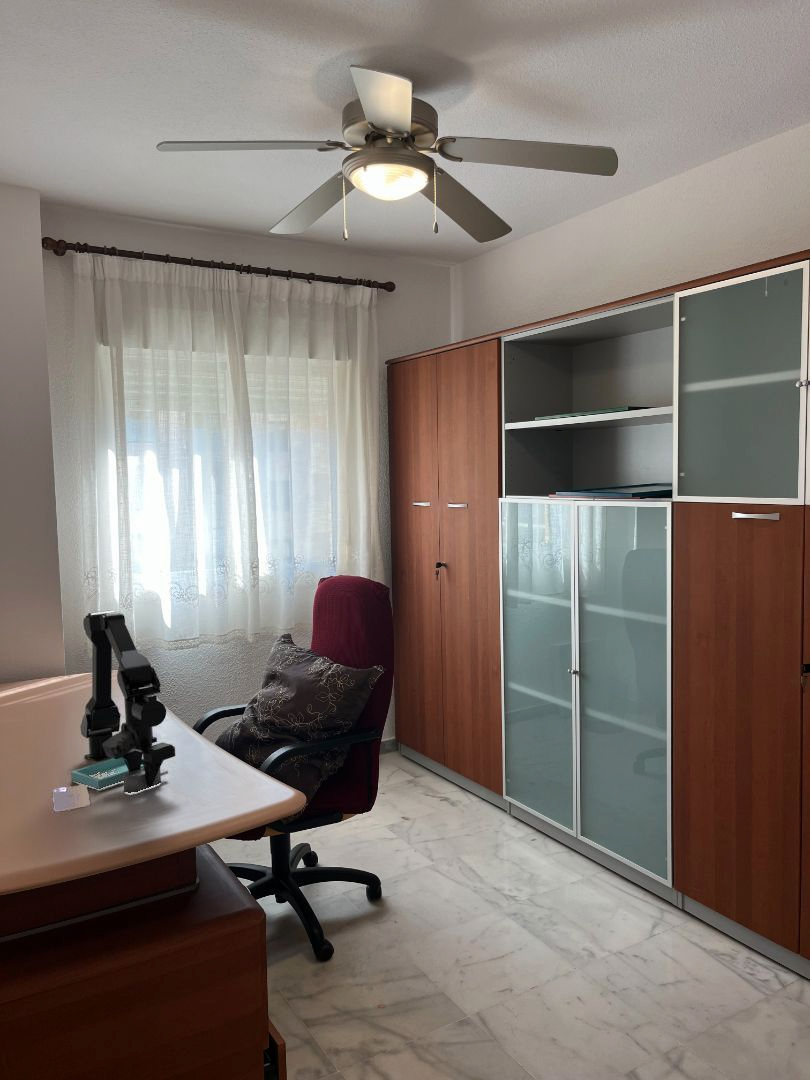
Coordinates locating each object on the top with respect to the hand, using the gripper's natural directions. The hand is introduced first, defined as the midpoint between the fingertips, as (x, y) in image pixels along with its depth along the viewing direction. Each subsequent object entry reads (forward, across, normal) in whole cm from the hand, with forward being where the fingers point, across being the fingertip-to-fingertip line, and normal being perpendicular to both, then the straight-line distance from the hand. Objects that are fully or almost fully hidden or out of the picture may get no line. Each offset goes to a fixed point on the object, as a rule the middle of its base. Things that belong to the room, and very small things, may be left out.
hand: (142, 783), depth 182 cm
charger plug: (+1, 0, 0) cm, 1 cm away
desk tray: (+1, -13, +1) cm, 13 cm away
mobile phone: (+2, -9, -12) cm, 16 cm away
